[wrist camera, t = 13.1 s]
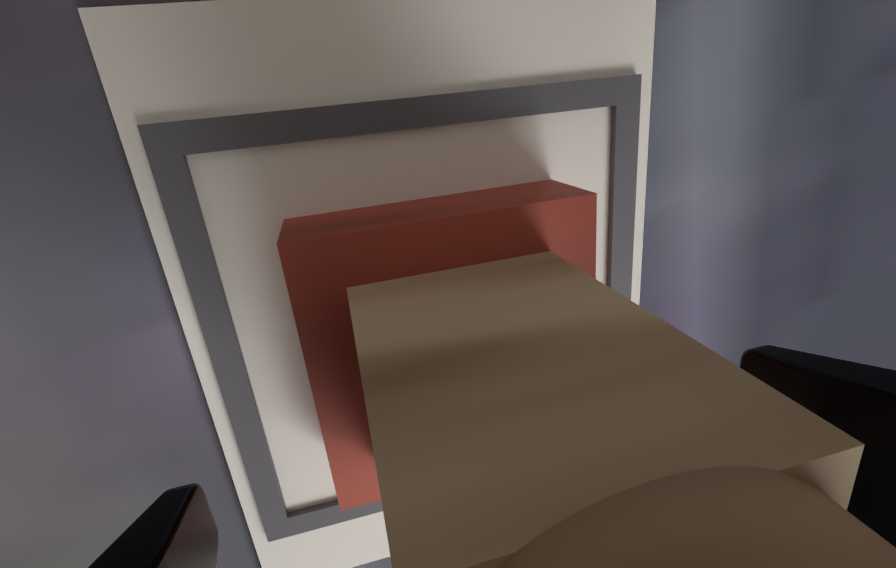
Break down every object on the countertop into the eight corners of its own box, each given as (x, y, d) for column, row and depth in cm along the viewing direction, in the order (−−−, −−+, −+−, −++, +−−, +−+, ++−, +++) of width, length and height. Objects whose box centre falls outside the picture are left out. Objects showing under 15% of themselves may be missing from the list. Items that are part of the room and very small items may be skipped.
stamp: (555, 397, 13) (956, 882, 5) (337, 450, 12) (380, 1205, 4) (551, 179, 11) (1251, 394, 3) (284, 219, 10) (114, 796, 2)
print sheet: (623, 480, 16) (632, 491, 15) (270, 581, 13) (268, 598, 13) (648, -22, 10) (663, -28, 10) (85, 11, 8) (71, 6, 8)
